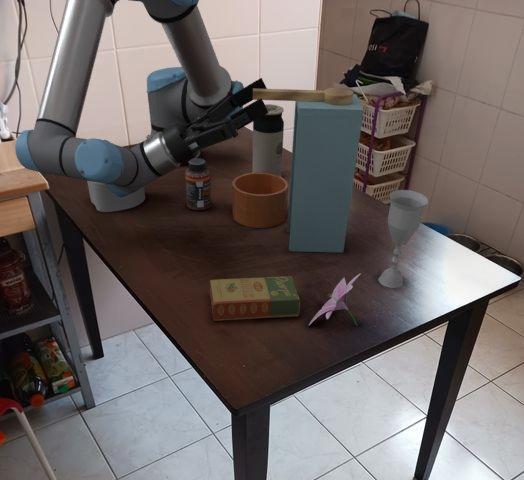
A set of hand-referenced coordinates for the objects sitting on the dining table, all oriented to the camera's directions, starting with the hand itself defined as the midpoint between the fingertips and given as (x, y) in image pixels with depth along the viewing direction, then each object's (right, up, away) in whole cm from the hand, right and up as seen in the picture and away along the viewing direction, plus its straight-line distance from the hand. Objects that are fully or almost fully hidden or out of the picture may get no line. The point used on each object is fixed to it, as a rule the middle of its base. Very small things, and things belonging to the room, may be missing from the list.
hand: (265, 94), depth 102 cm
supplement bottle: (-16, -13, +32) cm, 38 cm away
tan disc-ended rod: (+7, -1, +1) cm, 7 cm away
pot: (-1, -16, +29) cm, 33 cm away
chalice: (+26, -34, +9) cm, 44 cm away
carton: (-2, -40, 0) cm, 40 cm away
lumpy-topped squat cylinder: (-36, -11, +33) cm, 50 cm away
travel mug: (+1, -1, +47) cm, 47 cm away
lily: (+13, -43, -2) cm, 45 cm away
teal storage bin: (+11, -24, +20) cm, 33 cm away
